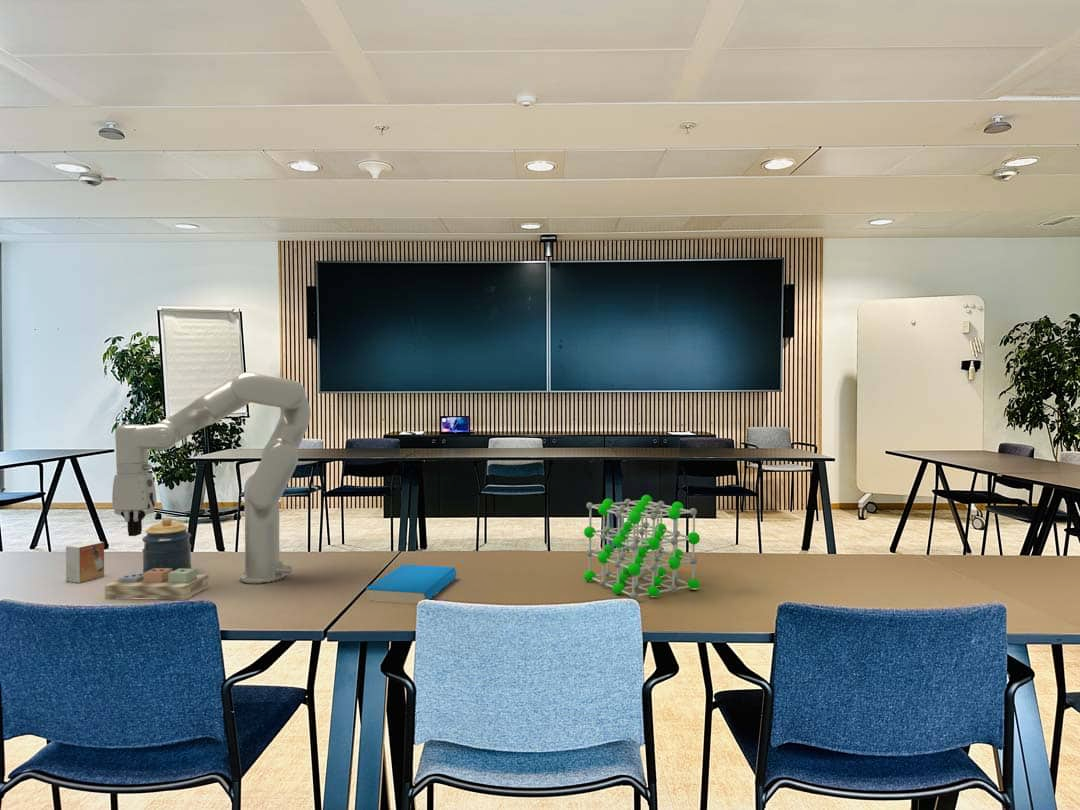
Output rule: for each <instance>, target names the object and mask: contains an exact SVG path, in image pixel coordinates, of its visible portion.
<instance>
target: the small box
mask: <svg viewBox="0 0 1080 810" xmlns="http://www.w3.org/2000/svg"><path fill="white" fill-rule="evenodd" d="M65 574H66V575H65V581H66V582H67V581H69V583H76V582H77V583H78V584H80V583H84V582H87V581H91V580H95V578H96V579H99V577H100V578H104V577H105V542H104V541H98V540H97V541H96V540H95V541H94V540H88V541H85V542H80V543H76V544H72V545H66V546H65ZM103 576H104V577H103Z"/></svg>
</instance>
